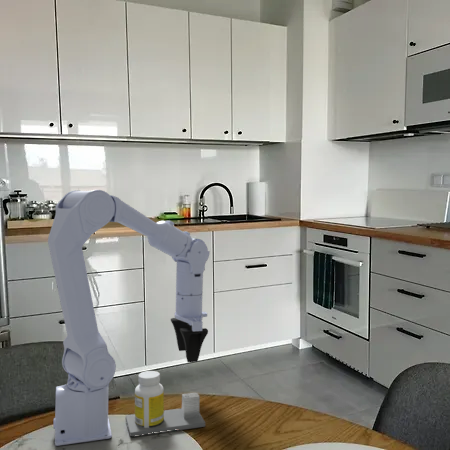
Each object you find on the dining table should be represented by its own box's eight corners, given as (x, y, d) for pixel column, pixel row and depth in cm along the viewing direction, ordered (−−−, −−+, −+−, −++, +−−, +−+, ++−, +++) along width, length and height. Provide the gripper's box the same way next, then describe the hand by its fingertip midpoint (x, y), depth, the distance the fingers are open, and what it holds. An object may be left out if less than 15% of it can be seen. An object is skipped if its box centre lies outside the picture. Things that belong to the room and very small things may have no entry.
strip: (130, 437, 81) (130, 410, 80) (125, 419, 87) (125, 394, 87) (205, 426, 85) (205, 401, 85) (195, 410, 92) (195, 387, 92)
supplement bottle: (166, 419, 88) (166, 369, 87) (160, 433, 82) (160, 380, 82) (139, 418, 88) (139, 368, 88) (131, 431, 83) (130, 379, 82)
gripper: (217, 299, 91) (215, 365, 92) (198, 286, 105) (196, 344, 106) (183, 300, 89) (182, 368, 90) (168, 287, 103) (167, 346, 103)
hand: (187, 355), depth 98 cm, fingers open, 7 cm apart
